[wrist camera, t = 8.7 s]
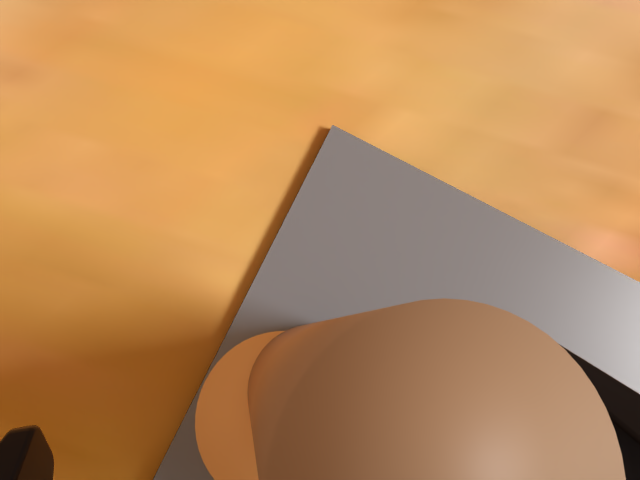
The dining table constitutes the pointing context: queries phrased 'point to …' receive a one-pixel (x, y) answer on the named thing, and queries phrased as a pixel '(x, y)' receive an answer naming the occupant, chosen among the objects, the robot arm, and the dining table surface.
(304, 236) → the card
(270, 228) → the dining table surface
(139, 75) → the dining table surface
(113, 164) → the dining table surface
